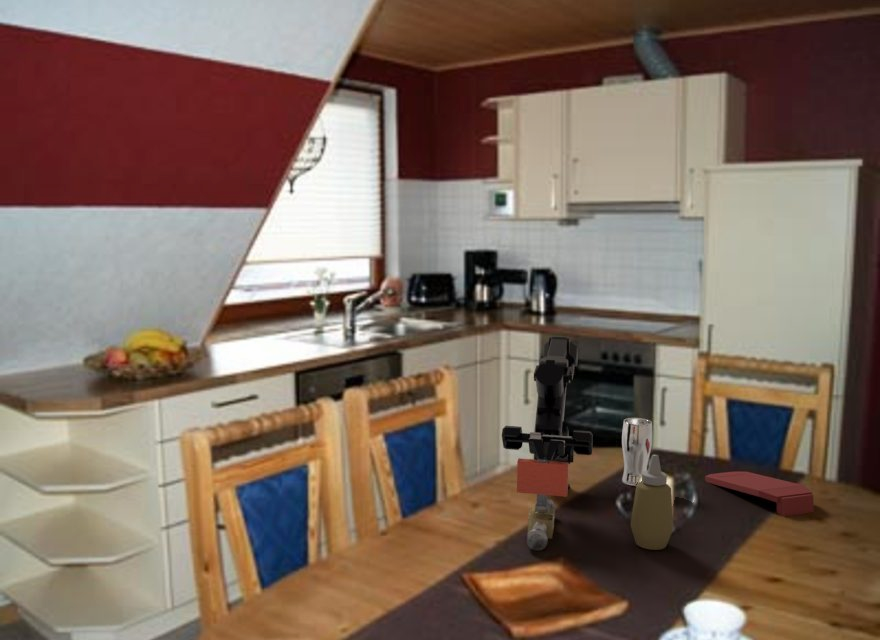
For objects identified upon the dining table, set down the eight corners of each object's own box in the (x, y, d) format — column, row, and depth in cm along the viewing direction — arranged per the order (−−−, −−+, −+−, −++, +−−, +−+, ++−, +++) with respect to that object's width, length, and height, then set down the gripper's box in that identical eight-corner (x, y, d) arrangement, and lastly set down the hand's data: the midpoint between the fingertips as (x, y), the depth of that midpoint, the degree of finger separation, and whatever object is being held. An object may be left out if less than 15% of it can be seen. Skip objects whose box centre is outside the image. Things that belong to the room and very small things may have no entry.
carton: (702, 495, 194) (776, 517, 170) (701, 475, 194) (775, 494, 170) (743, 490, 198) (821, 511, 174) (742, 470, 198) (820, 488, 174)
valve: (533, 514, 170) (534, 496, 170) (556, 516, 169) (556, 498, 168) (524, 549, 153) (524, 529, 152) (549, 551, 152) (549, 531, 151)
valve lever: (517, 508, 162) (518, 457, 161) (566, 513, 160) (568, 461, 159) (516, 512, 160) (517, 459, 159) (566, 516, 158) (568, 463, 157)
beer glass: (647, 477, 194) (650, 418, 192) (652, 487, 187) (655, 425, 185) (618, 476, 195) (620, 417, 193) (621, 486, 188) (624, 424, 186)
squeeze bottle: (662, 557, 150) (667, 465, 147) (622, 545, 155) (626, 456, 152) (678, 543, 156) (683, 454, 154) (639, 532, 161) (643, 446, 159)
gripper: (593, 432, 176) (590, 498, 167) (509, 427, 180) (501, 490, 171) (593, 406, 167) (590, 473, 158) (505, 401, 171) (497, 466, 162)
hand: (543, 476), depth 163 cm, fingers closed
